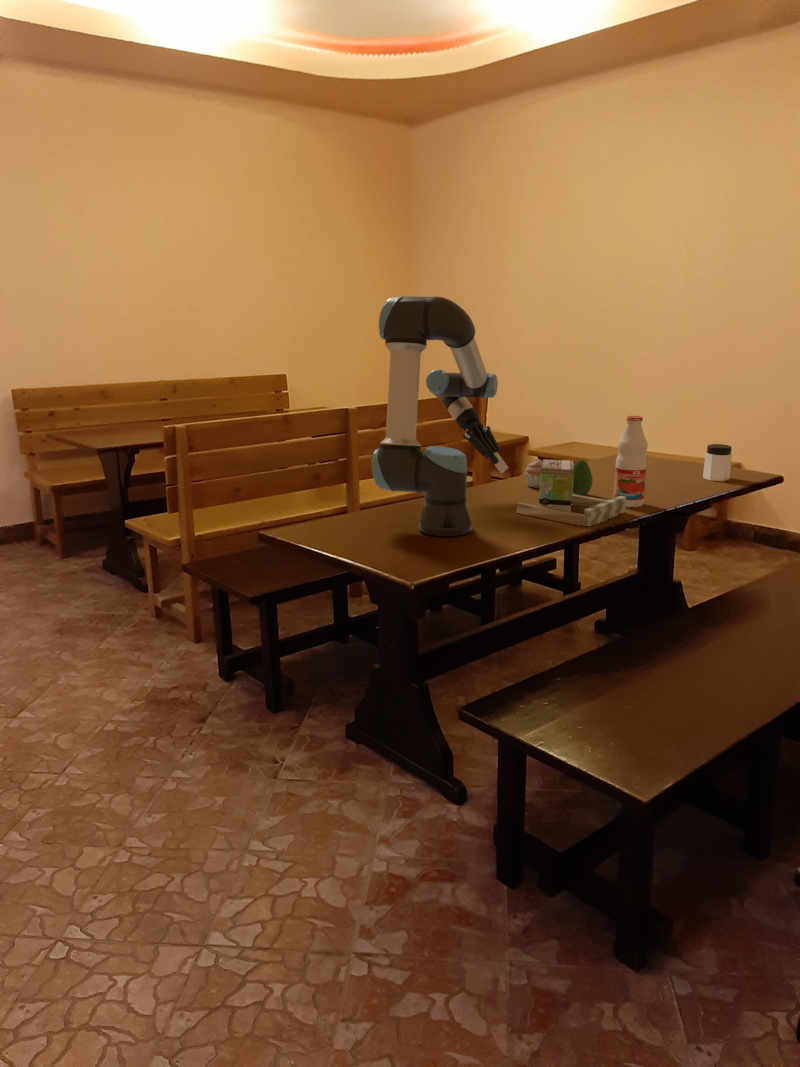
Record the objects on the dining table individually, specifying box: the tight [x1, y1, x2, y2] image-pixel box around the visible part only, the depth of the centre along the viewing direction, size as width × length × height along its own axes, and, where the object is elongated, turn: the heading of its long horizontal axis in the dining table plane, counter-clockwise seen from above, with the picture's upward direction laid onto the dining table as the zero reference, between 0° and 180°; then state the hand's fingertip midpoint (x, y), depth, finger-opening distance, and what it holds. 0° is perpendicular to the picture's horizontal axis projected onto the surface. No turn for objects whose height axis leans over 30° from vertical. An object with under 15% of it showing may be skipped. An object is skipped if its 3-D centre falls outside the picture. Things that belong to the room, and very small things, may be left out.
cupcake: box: [523, 457, 543, 489], centre depth 288 cm, size 9×9×10 cm
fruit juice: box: [612, 415, 649, 508], centre depth 261 cm, size 9×9×28 cm
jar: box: [702, 443, 733, 482], centre depth 298 cm, size 9×8×12 cm
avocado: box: [572, 459, 593, 496], centre depth 275 cm, size 8×8×12 cm
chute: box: [516, 493, 627, 527], centre depth 254 cm, size 22×25×5 cm
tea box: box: [538, 459, 575, 512], centre depth 256 cm, size 15×10×15 cm
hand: (504, 470), depth 270 cm, fingers closed
